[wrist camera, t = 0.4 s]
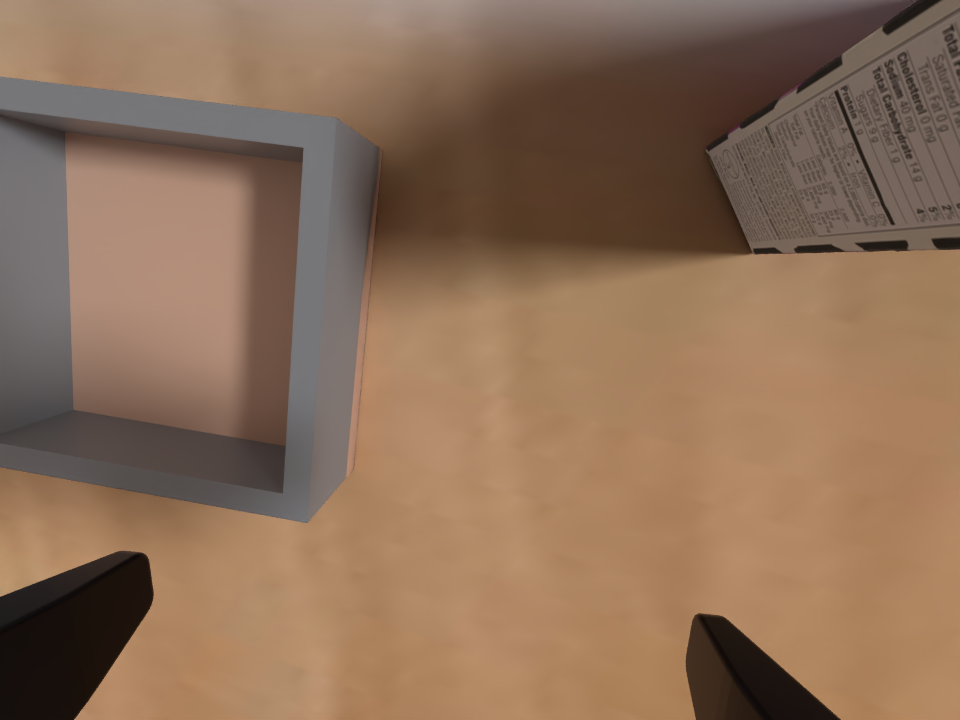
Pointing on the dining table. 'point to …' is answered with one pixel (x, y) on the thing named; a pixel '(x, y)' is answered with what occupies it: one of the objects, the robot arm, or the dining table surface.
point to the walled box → (182, 295)
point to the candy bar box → (857, 147)
